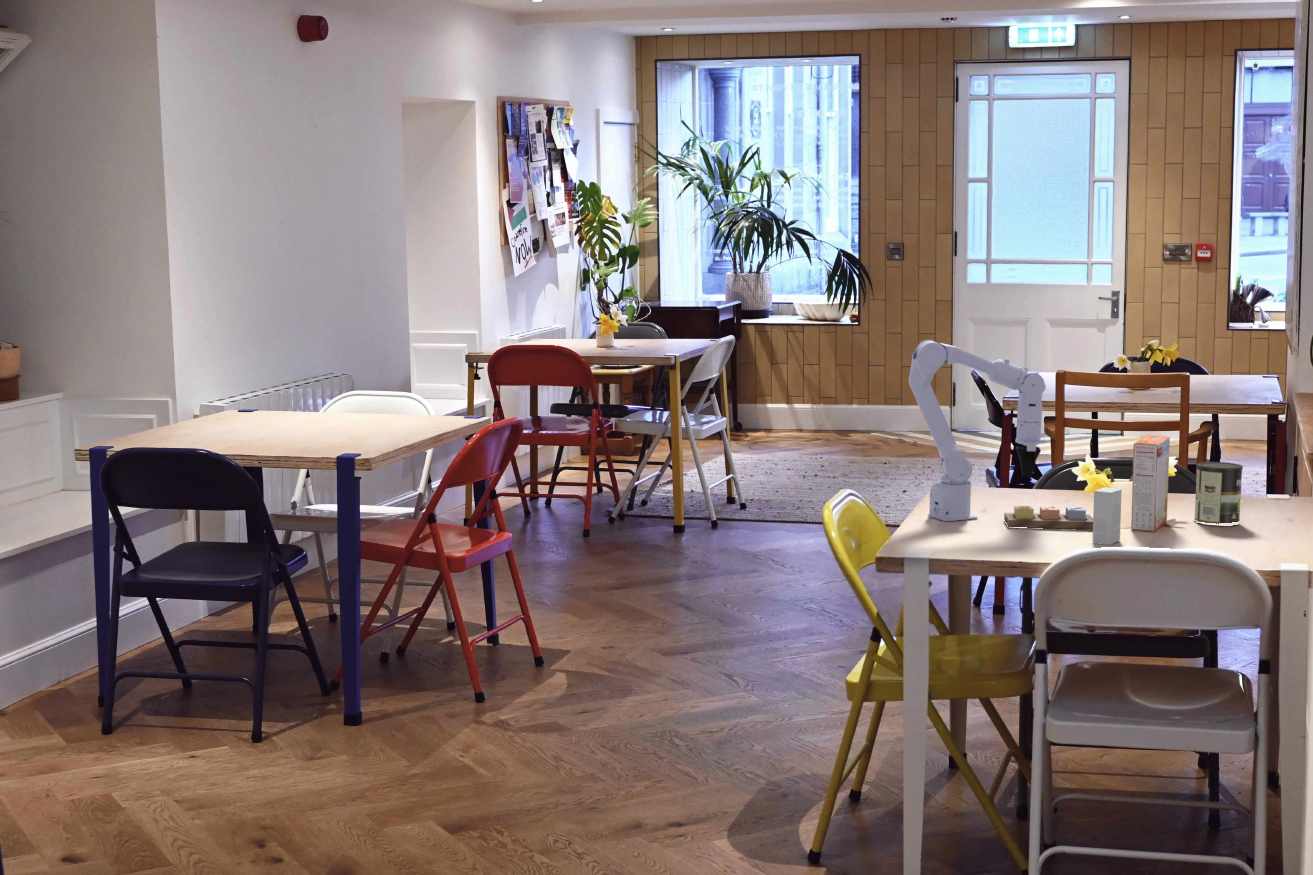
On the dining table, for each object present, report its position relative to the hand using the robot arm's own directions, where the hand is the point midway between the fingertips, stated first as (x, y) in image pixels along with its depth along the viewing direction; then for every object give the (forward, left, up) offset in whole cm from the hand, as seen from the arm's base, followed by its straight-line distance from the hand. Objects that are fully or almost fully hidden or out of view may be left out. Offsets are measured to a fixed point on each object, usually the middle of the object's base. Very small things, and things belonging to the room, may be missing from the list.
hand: (1027, 476), depth 339 cm
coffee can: (+39, -23, -11) cm, 46 cm away
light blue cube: (+5, -13, -10) cm, 17 cm away
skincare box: (0, -30, -11) cm, 31 cm away
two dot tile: (0, -10, -10) cm, 14 cm away
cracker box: (+21, -20, -11) cm, 30 cm away
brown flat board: (0, -10, -10) cm, 14 cm away
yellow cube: (-6, -7, -10) cm, 13 cm away
